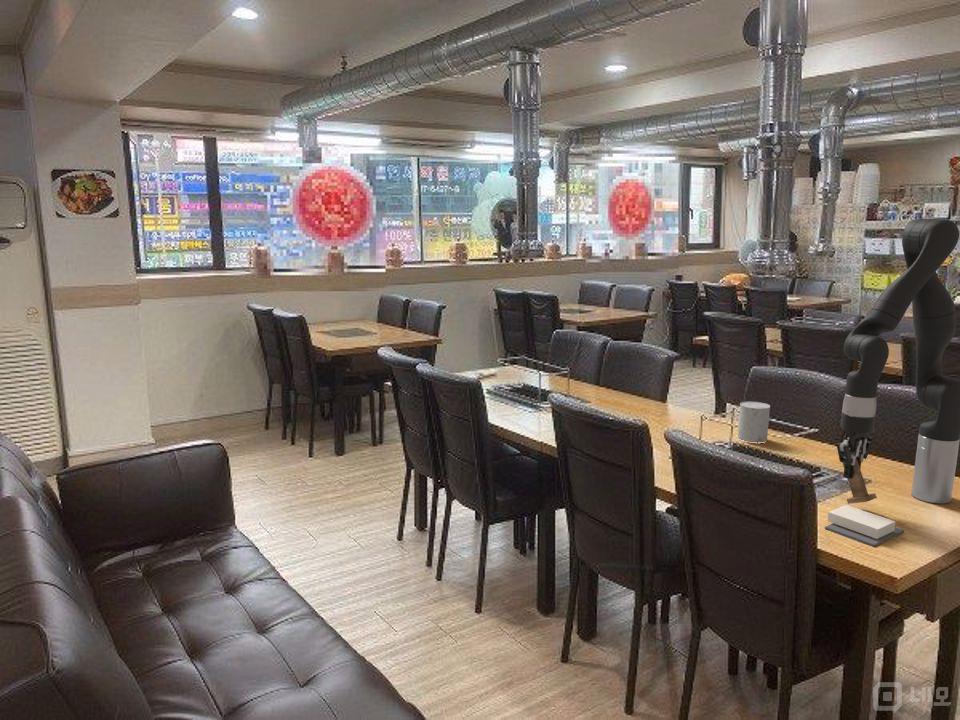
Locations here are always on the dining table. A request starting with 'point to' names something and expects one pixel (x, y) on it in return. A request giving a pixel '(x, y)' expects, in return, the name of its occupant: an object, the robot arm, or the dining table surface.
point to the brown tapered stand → (858, 486)
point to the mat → (863, 537)
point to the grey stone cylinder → (753, 421)
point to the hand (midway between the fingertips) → (851, 476)
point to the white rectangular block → (861, 521)
